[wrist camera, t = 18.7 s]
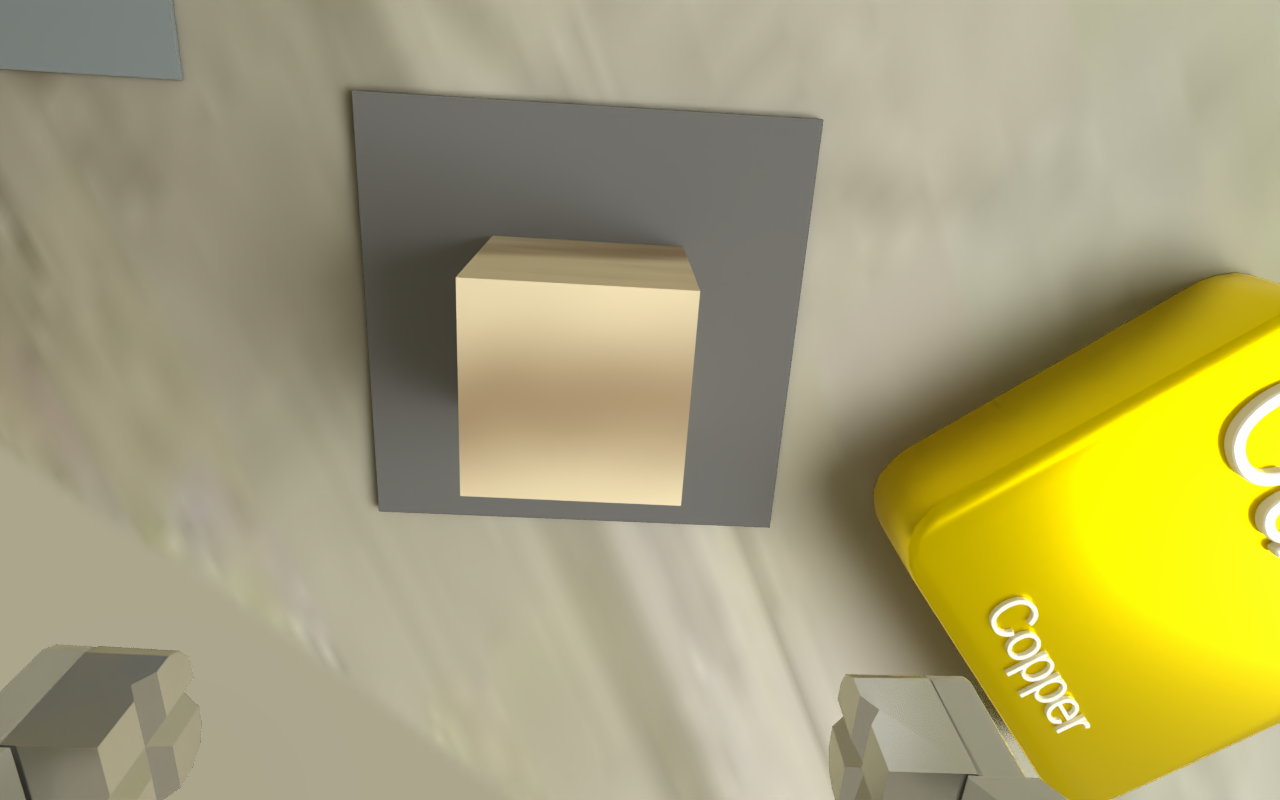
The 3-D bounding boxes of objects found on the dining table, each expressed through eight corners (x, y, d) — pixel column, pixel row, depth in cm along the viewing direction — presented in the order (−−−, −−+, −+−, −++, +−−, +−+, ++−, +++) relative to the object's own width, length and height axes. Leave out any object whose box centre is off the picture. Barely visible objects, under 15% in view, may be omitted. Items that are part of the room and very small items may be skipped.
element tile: (848, 474, 29) (889, 543, 25) (1248, 244, 27) (1375, 276, 22) (1017, 738, 34) (1077, 837, 30) (1372, 566, 31) (1497, 646, 27)
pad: (354, 90, 24) (351, 90, 24) (820, 119, 25) (823, 119, 24) (381, 507, 29) (379, 511, 29) (767, 523, 30) (769, 527, 29)
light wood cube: (492, 235, 25) (455, 277, 20) (683, 246, 26) (700, 291, 20) (493, 412, 27) (460, 496, 22) (669, 421, 28) (680, 505, 22)
